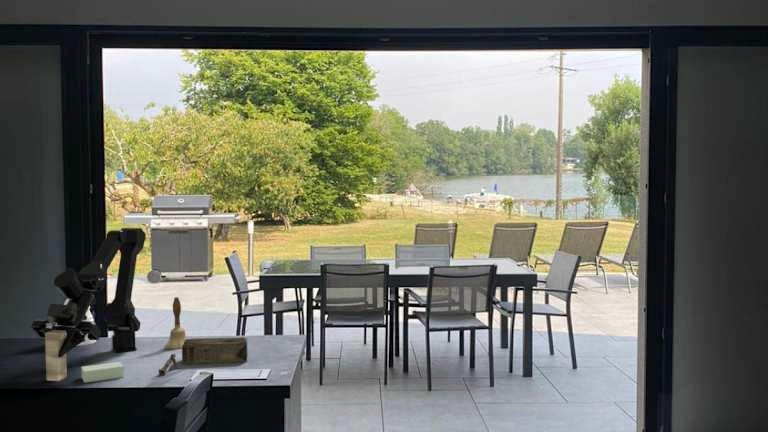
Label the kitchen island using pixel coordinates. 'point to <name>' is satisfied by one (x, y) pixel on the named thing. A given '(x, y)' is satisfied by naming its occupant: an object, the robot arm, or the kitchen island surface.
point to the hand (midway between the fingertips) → (52, 356)
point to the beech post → (55, 356)
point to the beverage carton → (215, 350)
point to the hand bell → (176, 328)
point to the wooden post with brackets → (163, 370)
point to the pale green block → (102, 372)
